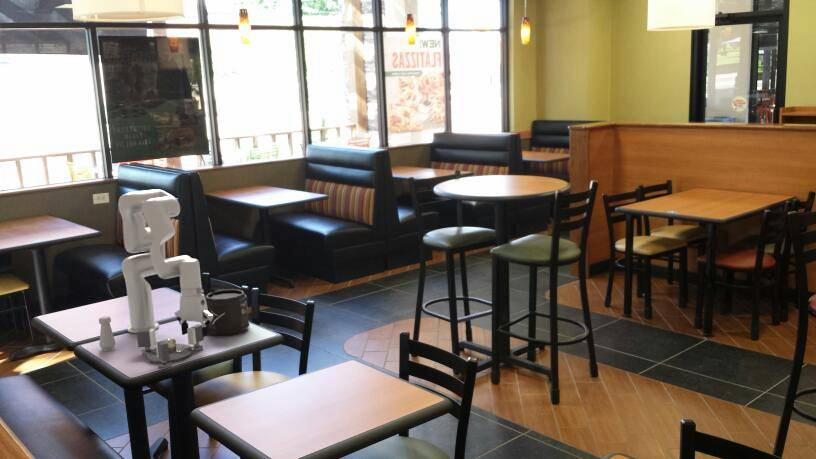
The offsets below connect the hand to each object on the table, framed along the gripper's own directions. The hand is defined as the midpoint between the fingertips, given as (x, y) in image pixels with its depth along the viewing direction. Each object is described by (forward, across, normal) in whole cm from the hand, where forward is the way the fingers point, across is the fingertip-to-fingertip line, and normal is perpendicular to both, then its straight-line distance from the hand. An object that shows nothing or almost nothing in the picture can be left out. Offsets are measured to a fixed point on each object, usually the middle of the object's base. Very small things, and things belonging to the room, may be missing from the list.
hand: (195, 334), depth 280 cm
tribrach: (+6, +4, +11) cm, 13 cm away
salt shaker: (+6, +35, +10) cm, 37 cm away
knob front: (+5, 0, +18) cm, 19 cm away
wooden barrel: (+6, +3, -22) cm, 23 cm away
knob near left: (+5, 0, 0) cm, 5 cm away
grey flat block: (+4, +16, +9) cm, 19 cm away
